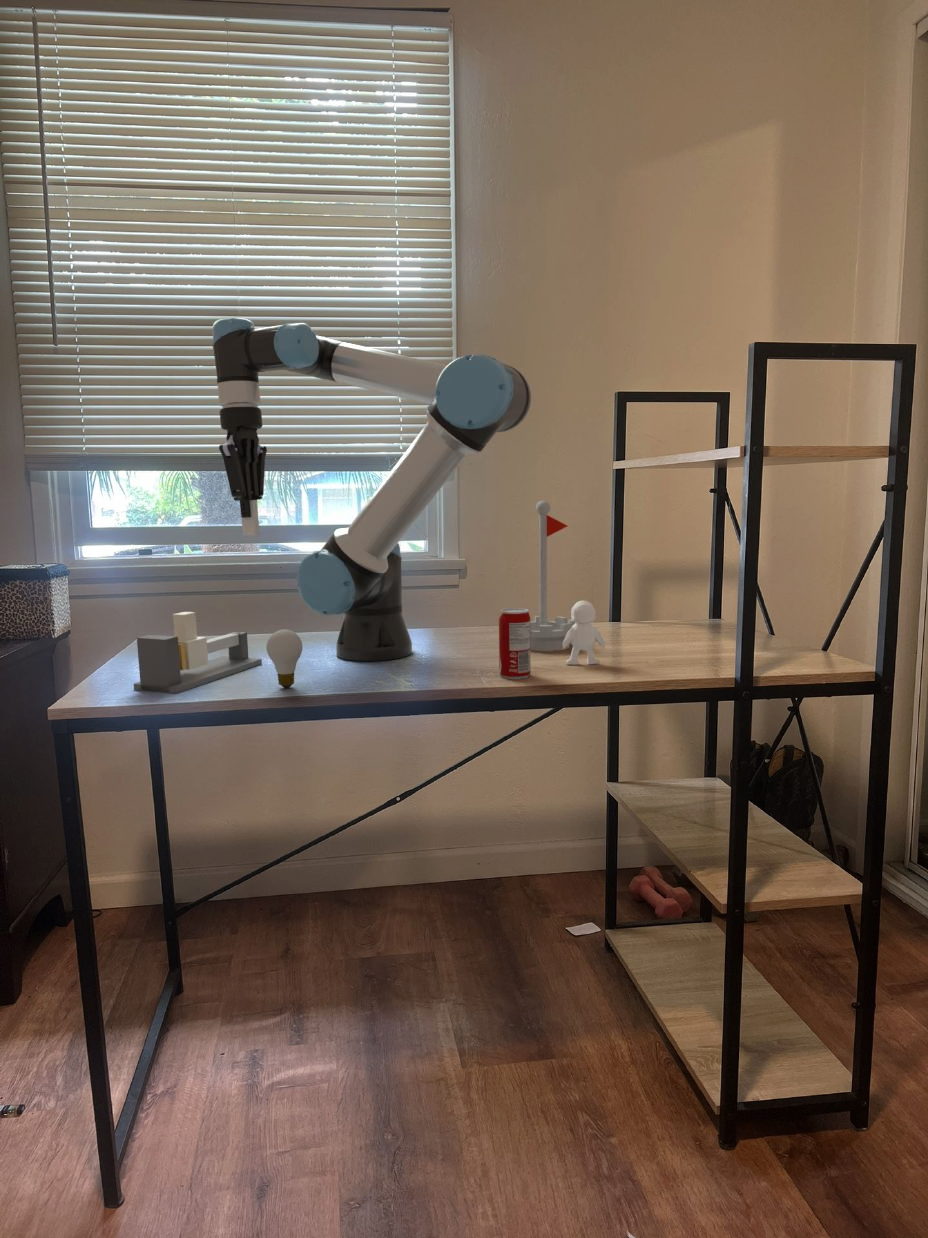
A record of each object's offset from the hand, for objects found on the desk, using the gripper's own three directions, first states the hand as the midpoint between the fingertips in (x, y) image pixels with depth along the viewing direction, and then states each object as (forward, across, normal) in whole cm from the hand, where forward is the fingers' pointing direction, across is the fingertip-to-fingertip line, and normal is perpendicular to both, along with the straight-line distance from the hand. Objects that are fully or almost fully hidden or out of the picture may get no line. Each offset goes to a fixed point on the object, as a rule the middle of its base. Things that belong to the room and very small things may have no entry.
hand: (251, 534), depth 158 cm
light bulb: (+26, +17, +15) cm, 34 cm away
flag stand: (+27, -28, +49) cm, 63 cm away
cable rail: (+25, +13, -5) cm, 28 cm away
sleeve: (+22, +16, -5) cm, 28 cm away
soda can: (+27, 0, +50) cm, 57 cm away
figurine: (+27, -12, +60) cm, 67 cm away
